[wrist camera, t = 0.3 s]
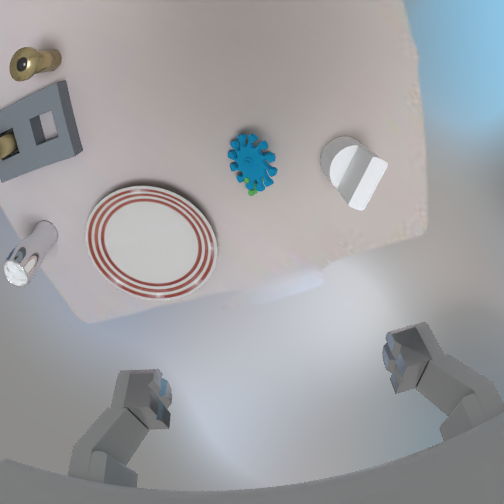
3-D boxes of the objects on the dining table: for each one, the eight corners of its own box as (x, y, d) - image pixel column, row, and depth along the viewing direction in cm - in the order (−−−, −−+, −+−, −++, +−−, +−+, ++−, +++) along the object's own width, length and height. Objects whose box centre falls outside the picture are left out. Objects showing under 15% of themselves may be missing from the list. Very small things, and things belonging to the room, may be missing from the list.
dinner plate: (201, 303, 72) (200, 314, 69) (89, 277, 66) (84, 286, 63) (234, 198, 58) (235, 206, 55) (95, 166, 52) (88, 172, 49)
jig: (10, 176, 50) (-16, 197, 41) (-7, 117, 42) (-38, 130, 34) (82, 150, 49) (58, 169, 41) (65, 80, 41) (36, 87, 33)
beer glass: (61, 225, 58) (29, 267, 45) (58, 250, 61) (29, 293, 48) (35, 214, 55) (0, 253, 43) (33, 239, 59) (2, 280, 46)
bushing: (38, 53, 37) (7, 56, 29) (62, 41, 37) (32, 41, 29) (43, 79, 40) (12, 86, 32) (67, 68, 40) (38, 73, 32)
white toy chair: (332, 128, 51) (357, 147, 41) (373, 148, 53) (403, 170, 43) (312, 172, 56) (330, 199, 46) (352, 188, 58) (377, 218, 48)
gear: (226, 128, 49) (274, 145, 44) (250, 120, 52) (297, 136, 47) (225, 185, 56) (268, 207, 51) (247, 174, 59) (289, 194, 55)
